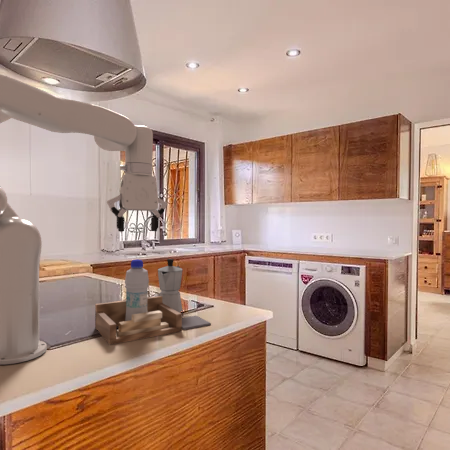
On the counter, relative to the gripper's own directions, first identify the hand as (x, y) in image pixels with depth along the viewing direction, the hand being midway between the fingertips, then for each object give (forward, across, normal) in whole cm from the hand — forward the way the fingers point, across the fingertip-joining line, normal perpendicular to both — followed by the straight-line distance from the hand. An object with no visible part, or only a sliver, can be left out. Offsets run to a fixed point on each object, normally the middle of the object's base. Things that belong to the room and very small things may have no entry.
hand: (138, 231), depth 101 cm
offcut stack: (+28, 0, -5) cm, 29 cm away
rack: (+28, 0, -1) cm, 28 cm away
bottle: (+28, 0, 0) cm, 28 cm away
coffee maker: (+28, +16, +12) cm, 34 cm away
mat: (+28, +16, -3) cm, 32 cm away
